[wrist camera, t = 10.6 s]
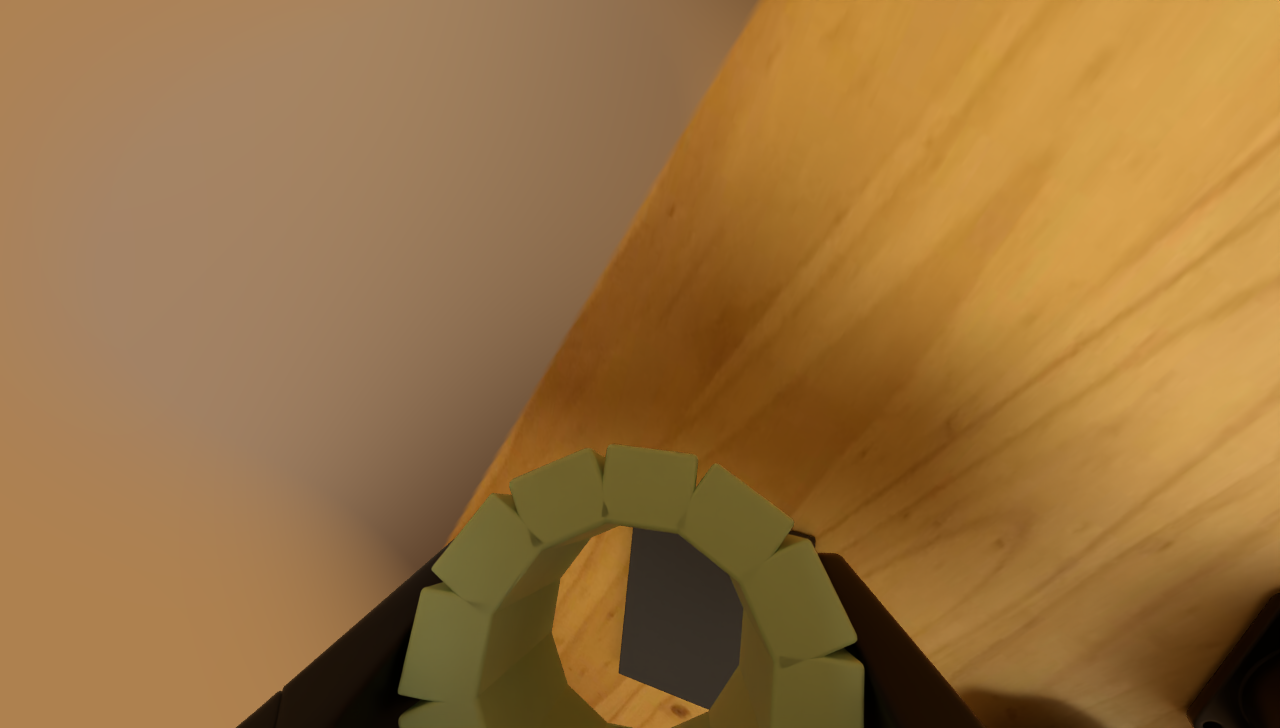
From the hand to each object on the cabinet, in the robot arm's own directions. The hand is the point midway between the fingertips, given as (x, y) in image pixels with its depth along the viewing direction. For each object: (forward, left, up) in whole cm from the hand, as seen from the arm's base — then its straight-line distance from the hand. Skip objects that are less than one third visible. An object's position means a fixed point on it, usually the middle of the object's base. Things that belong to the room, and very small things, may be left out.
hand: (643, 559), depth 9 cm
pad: (-13, -1, -12) cm, 18 cm away
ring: (-2, 0, 0) cm, 2 cm away
